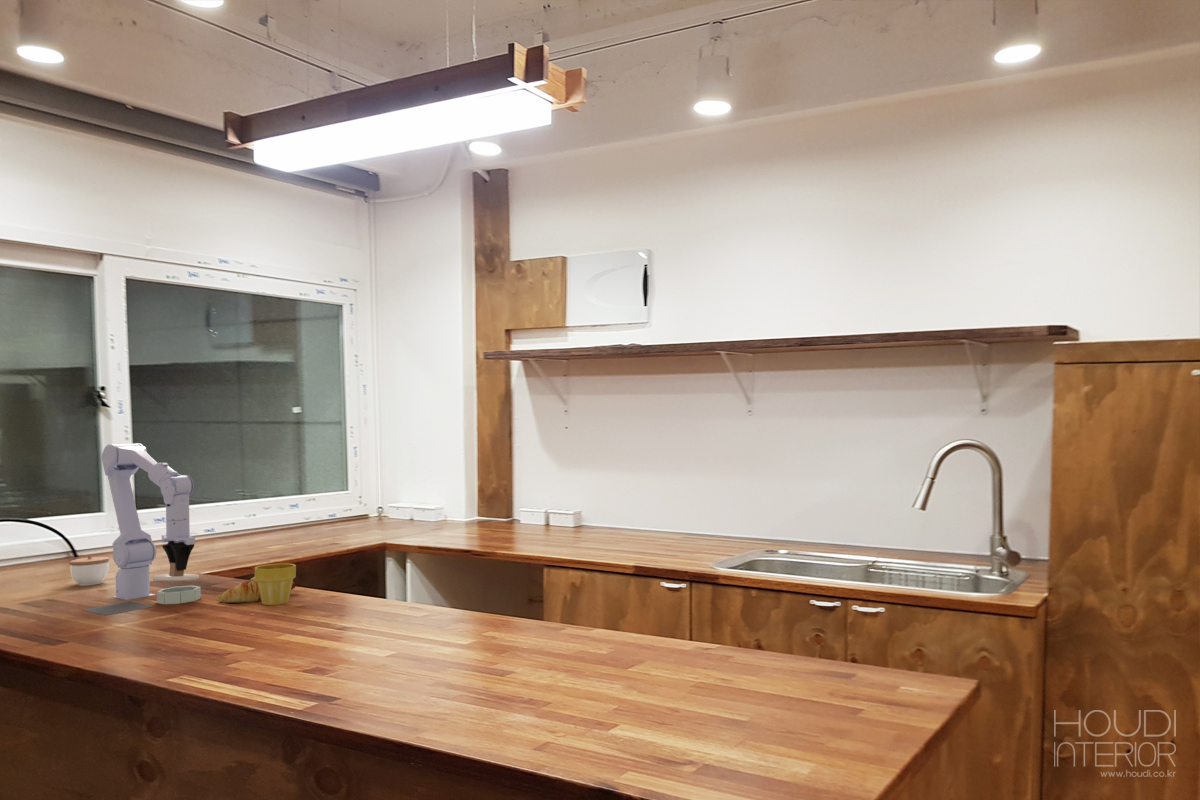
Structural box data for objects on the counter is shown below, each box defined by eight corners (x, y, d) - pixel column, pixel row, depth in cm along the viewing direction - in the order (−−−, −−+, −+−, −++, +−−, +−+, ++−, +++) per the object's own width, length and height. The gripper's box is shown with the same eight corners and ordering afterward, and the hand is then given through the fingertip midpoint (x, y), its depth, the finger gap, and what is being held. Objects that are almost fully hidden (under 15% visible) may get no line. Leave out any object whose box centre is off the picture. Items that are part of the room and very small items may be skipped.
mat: (82, 612, 223) (82, 609, 223) (130, 603, 232) (129, 601, 232) (105, 617, 214) (105, 615, 214) (154, 608, 224) (154, 606, 224)
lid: (145, 578, 231) (146, 562, 231) (186, 575, 239) (187, 560, 240) (165, 581, 224) (166, 565, 224) (206, 578, 233) (207, 563, 233)
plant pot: (301, 598, 232) (301, 562, 232) (289, 605, 222) (288, 568, 222) (263, 599, 232) (262, 563, 232) (249, 607, 221) (248, 569, 222)
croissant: (222, 619, 224) (226, 594, 222) (209, 597, 231) (213, 573, 228) (299, 604, 239) (304, 580, 236) (285, 584, 245) (290, 561, 243)
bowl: (151, 603, 231) (151, 590, 231) (188, 597, 239) (187, 584, 239) (169, 607, 225) (169, 594, 225) (206, 600, 233) (206, 587, 233)
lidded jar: (117, 580, 273) (116, 551, 274) (94, 586, 263) (93, 556, 263) (86, 581, 274) (85, 552, 275) (61, 587, 264) (61, 557, 264)
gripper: (150, 520, 234) (151, 570, 233) (176, 522, 225) (177, 574, 225) (176, 517, 240) (176, 566, 239) (202, 519, 231) (203, 570, 230)
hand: (178, 569), depth 232 cm, fingers closed on lid, 3 cm apart
